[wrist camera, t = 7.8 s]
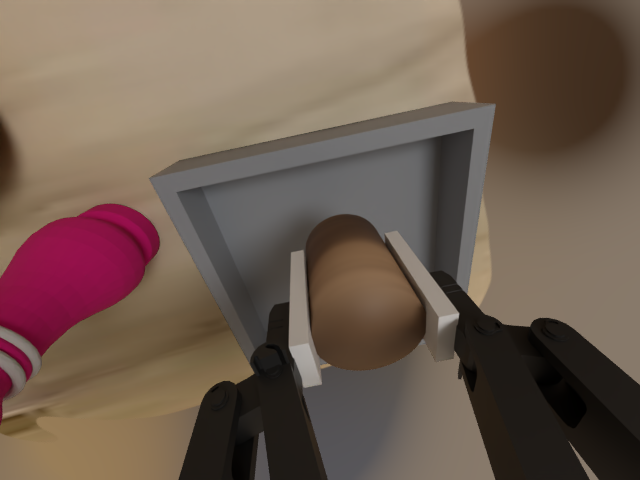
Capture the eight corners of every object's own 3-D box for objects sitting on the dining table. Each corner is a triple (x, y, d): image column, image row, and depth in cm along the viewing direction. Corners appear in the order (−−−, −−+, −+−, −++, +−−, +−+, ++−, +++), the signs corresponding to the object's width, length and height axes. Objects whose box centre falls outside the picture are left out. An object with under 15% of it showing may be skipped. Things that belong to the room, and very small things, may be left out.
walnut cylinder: (297, 223, 16) (299, 302, 10) (377, 206, 16) (429, 277, 10) (313, 284, 18) (322, 378, 12) (382, 270, 18) (426, 358, 12)
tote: (179, 160, 21) (148, 178, 16) (452, 101, 20) (495, 104, 16) (262, 339, 32) (257, 377, 28) (437, 303, 32) (460, 336, 27)
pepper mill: (102, 270, 25) (-322, 665, 8) (59, 202, 21) (-925, 659, 4) (177, 262, 25) (-72, 624, 8) (147, 193, 22) (-427, 585, 4)
